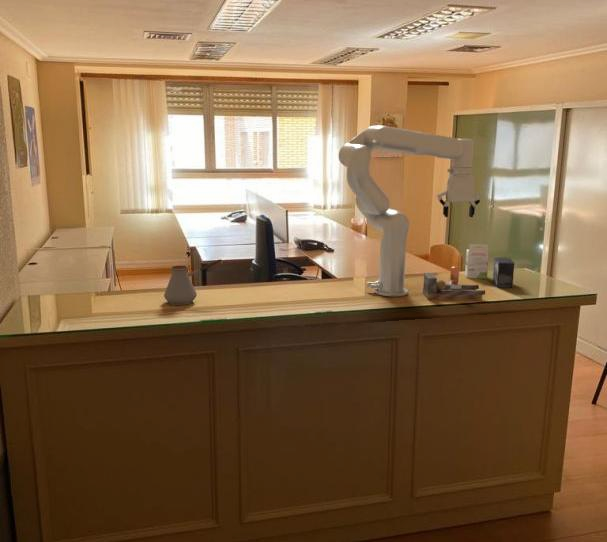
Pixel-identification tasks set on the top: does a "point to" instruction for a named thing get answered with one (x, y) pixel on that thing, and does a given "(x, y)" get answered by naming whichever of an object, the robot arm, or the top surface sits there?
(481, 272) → the ink box
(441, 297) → the press bench
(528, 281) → the top surface
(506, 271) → the small box
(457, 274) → the ram
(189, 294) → the coffee pot
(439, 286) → the walnut
